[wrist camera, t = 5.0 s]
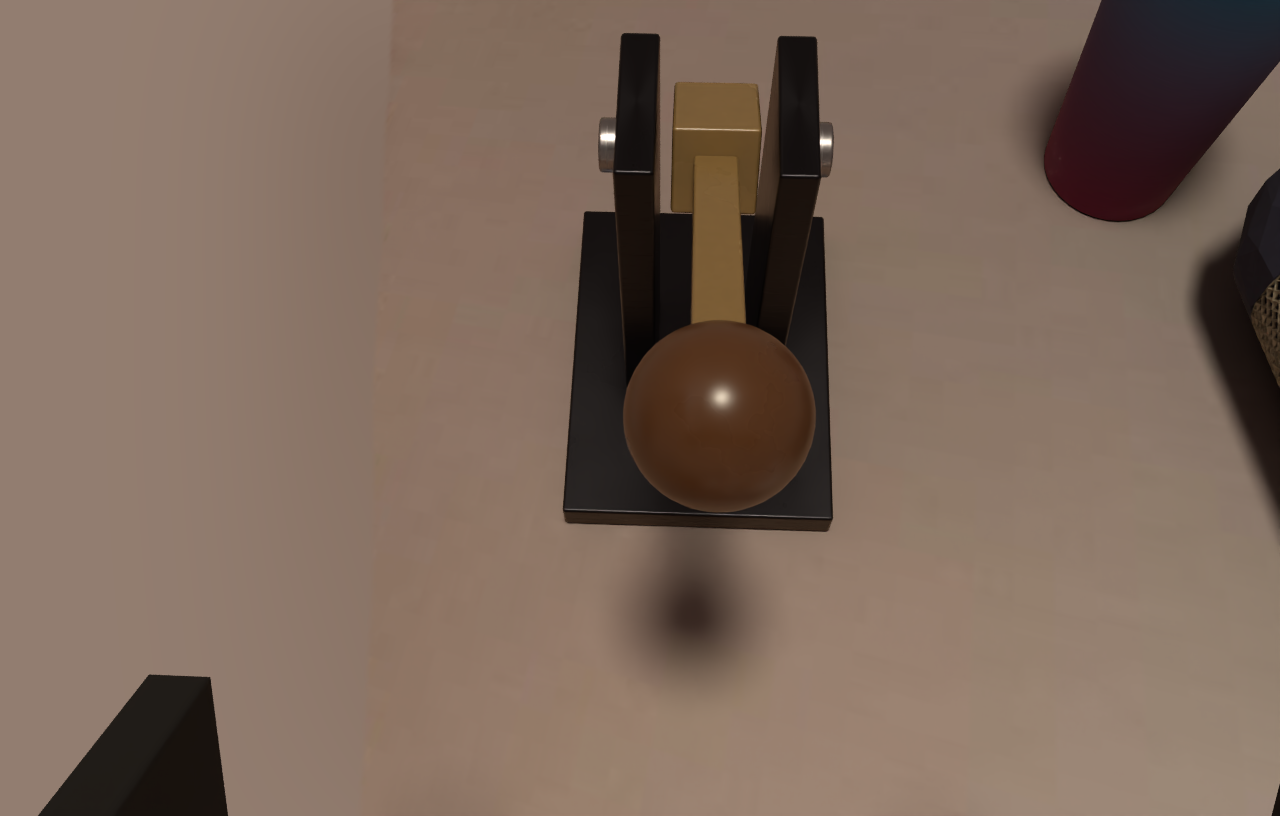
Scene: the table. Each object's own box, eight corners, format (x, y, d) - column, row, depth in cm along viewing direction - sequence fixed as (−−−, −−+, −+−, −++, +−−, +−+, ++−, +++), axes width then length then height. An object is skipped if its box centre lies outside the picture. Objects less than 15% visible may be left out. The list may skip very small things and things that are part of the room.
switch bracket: (828, 531, 39) (915, 319, 26) (565, 523, 40) (515, 308, 26) (819, 233, 44) (888, -74, 31) (585, 228, 45) (553, -79, 31)
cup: (1053, 254, 44) (1231, -56, 30) (997, 113, 47) (1136, -228, 33) (1225, 225, 44) (1475, -94, 31) (1158, 87, 47) (1361, -261, 33)
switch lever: (812, 556, 21) (833, 405, 19) (617, 549, 21) (616, 398, 19) (775, 185, 32) (786, 60, 30) (647, 181, 32) (648, 58, 30)
